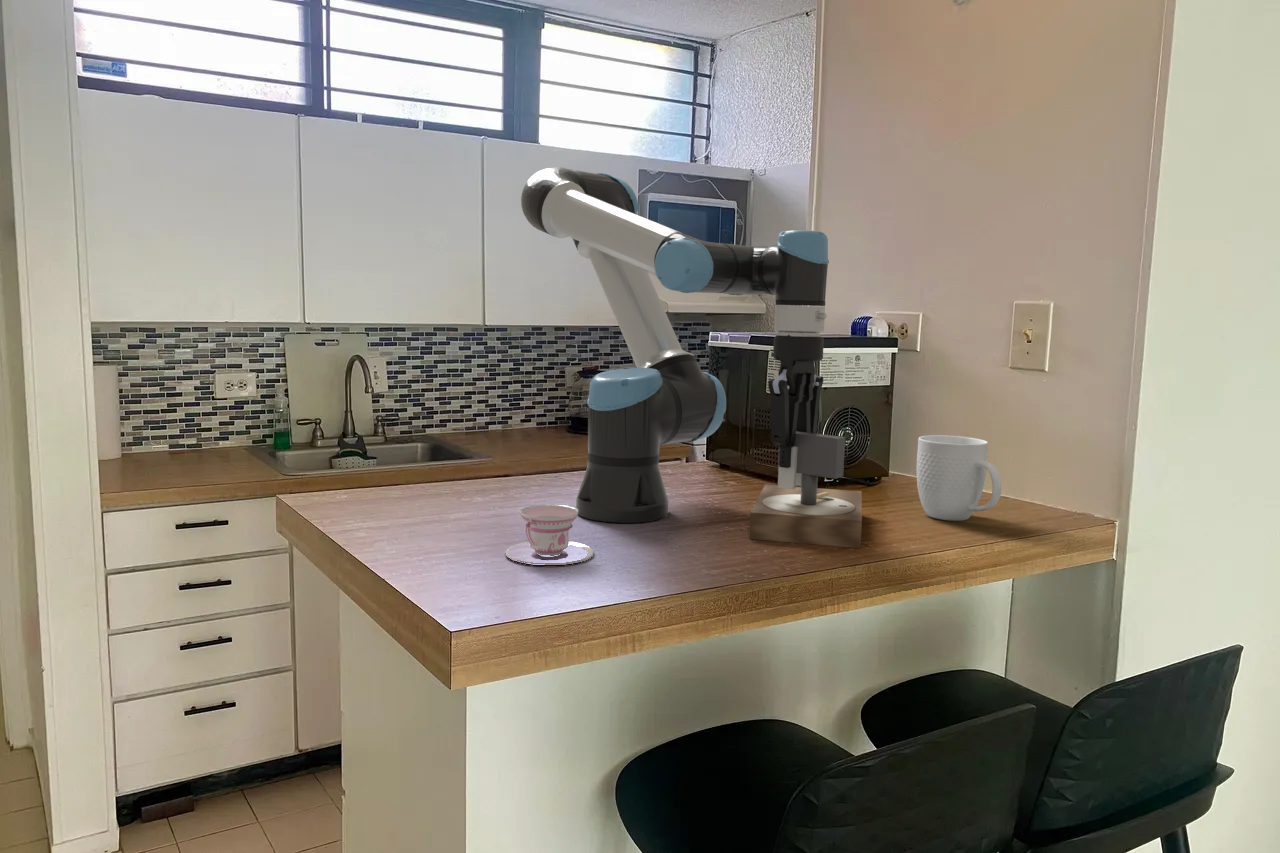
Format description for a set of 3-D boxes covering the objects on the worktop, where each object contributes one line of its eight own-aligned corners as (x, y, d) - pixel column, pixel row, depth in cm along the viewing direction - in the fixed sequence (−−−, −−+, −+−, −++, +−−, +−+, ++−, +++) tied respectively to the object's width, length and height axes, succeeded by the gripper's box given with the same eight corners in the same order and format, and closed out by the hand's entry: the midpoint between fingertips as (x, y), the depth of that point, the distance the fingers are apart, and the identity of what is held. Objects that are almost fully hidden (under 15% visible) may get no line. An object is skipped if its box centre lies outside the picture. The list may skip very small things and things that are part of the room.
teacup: (540, 539, 131) (540, 497, 130) (610, 552, 125) (611, 509, 124) (486, 558, 121) (486, 513, 120) (560, 573, 115) (560, 526, 114)
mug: (1017, 524, 147) (1023, 445, 145) (974, 532, 141) (980, 449, 139) (941, 506, 159) (946, 433, 157) (899, 513, 153) (904, 437, 151)
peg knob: (833, 509, 135) (837, 438, 133) (776, 499, 141) (779, 431, 140) (855, 503, 140) (859, 434, 138) (799, 493, 146) (802, 427, 145)
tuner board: (749, 538, 134) (750, 510, 133) (764, 507, 155) (765, 482, 154) (860, 548, 130) (862, 518, 129) (860, 514, 151) (861, 489, 151)
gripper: (795, 336, 129) (788, 497, 132) (844, 334, 141) (836, 482, 144) (750, 334, 134) (744, 490, 137) (801, 333, 146) (794, 476, 149)
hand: (791, 486), depth 141 cm, fingers closed on peg knob, 3 cm apart
